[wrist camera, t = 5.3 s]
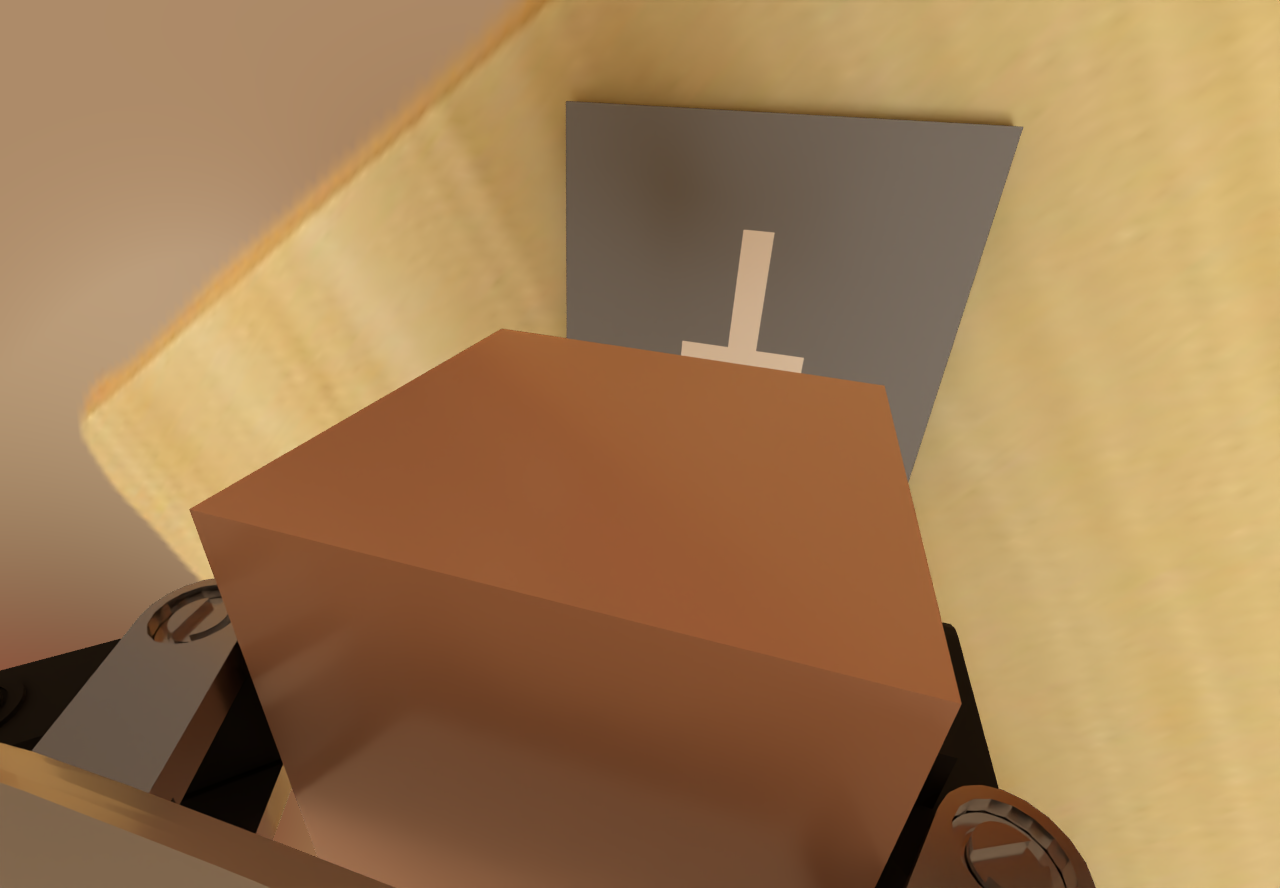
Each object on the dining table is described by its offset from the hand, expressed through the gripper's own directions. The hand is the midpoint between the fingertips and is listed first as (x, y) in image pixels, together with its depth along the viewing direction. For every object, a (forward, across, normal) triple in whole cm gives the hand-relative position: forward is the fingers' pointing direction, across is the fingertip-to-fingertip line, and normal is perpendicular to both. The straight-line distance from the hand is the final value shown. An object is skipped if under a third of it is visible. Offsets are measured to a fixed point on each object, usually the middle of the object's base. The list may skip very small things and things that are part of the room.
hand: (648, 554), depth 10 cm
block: (+1, 0, 0) cm, 1 cm away
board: (+17, 0, +3) cm, 18 cm away
